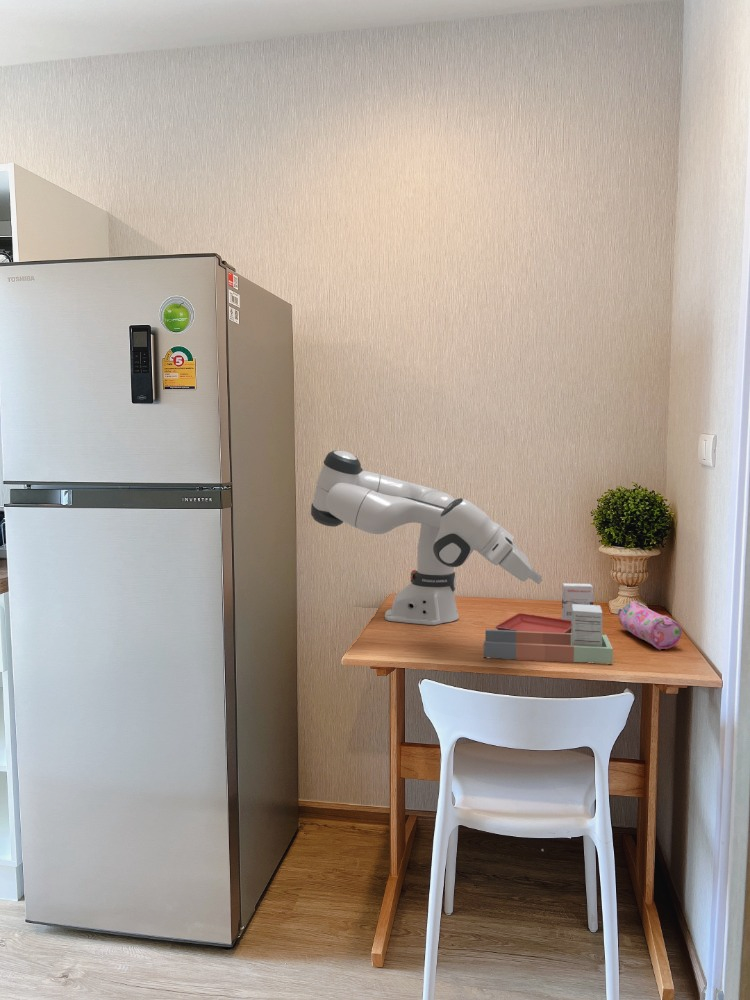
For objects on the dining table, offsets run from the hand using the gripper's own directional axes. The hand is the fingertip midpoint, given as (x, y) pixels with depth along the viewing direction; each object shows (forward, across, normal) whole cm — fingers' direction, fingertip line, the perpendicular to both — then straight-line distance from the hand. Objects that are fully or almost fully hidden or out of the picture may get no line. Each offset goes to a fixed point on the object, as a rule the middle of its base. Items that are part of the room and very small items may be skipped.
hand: (540, 580), depth 189 cm
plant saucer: (+14, -20, -15) cm, 28 cm away
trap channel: (+13, -1, -14) cm, 19 cm away
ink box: (+24, -32, -7) cm, 40 cm away
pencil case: (+36, -18, +4) cm, 41 cm away
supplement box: (+22, 0, -8) cm, 23 cm away
